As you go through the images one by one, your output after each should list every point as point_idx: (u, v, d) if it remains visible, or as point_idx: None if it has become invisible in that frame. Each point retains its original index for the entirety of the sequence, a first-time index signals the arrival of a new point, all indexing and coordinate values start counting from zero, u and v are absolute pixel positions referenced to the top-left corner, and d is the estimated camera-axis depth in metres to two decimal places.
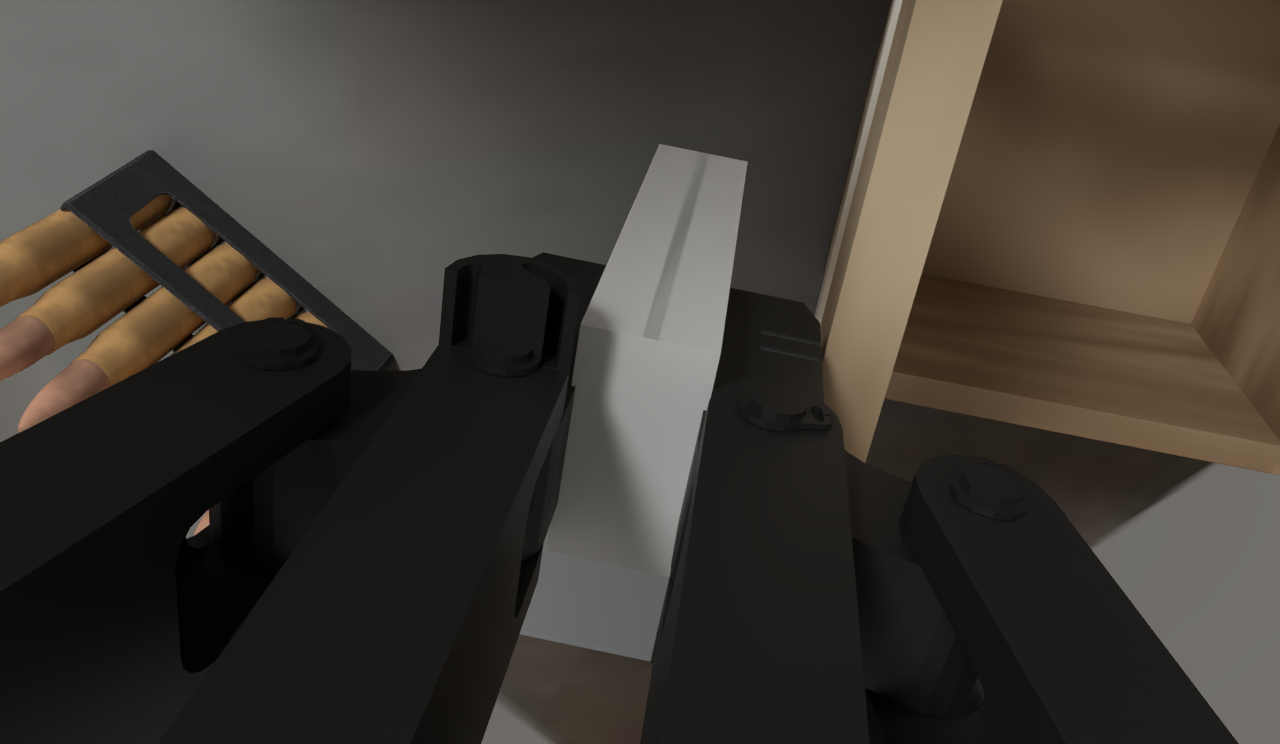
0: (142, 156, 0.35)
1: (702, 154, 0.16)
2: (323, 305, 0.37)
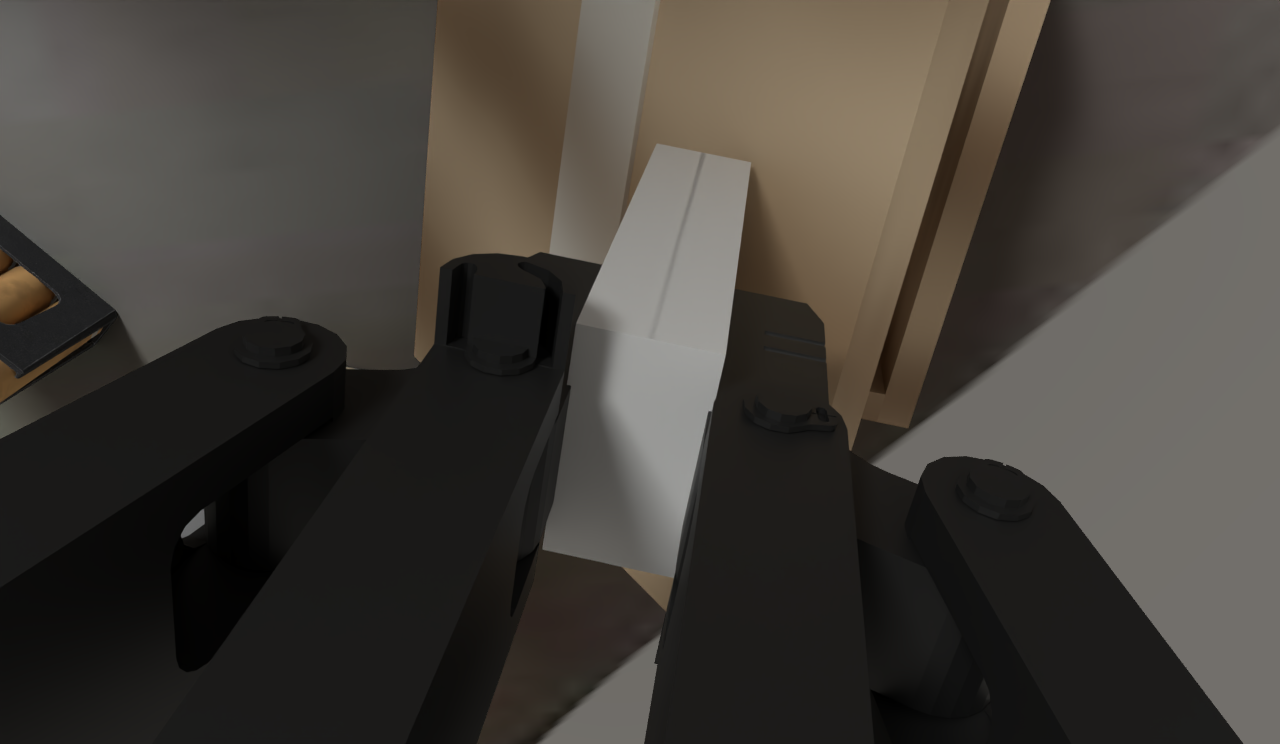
0: None
1: (699, 153, 0.16)
2: (39, 259, 0.37)
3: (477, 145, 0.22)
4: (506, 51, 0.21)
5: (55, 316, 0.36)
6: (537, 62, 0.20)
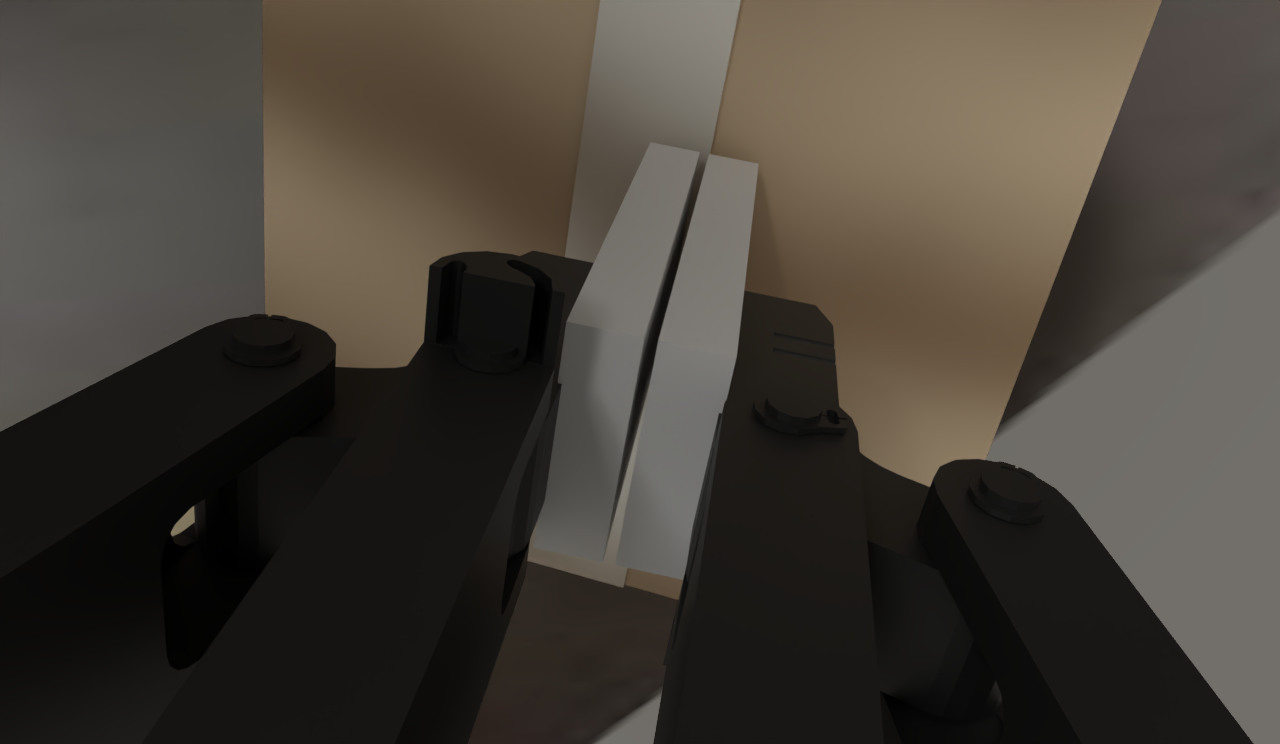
0: None
1: (693, 152, 0.16)
2: None
3: (382, 215, 0.18)
4: (434, 97, 0.17)
5: None
6: (503, 107, 0.16)
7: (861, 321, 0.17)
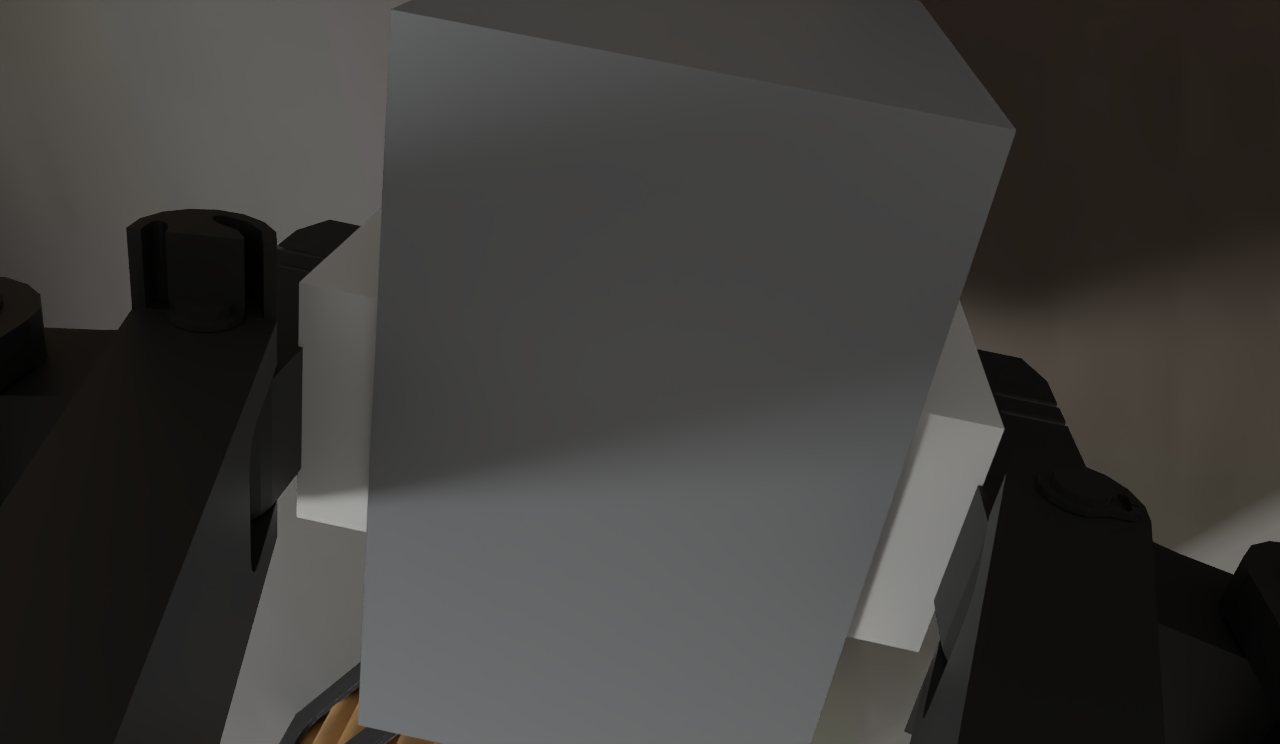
0: (286, 732, 0.28)
1: None
2: None
3: None
4: None
5: None
6: None
7: None
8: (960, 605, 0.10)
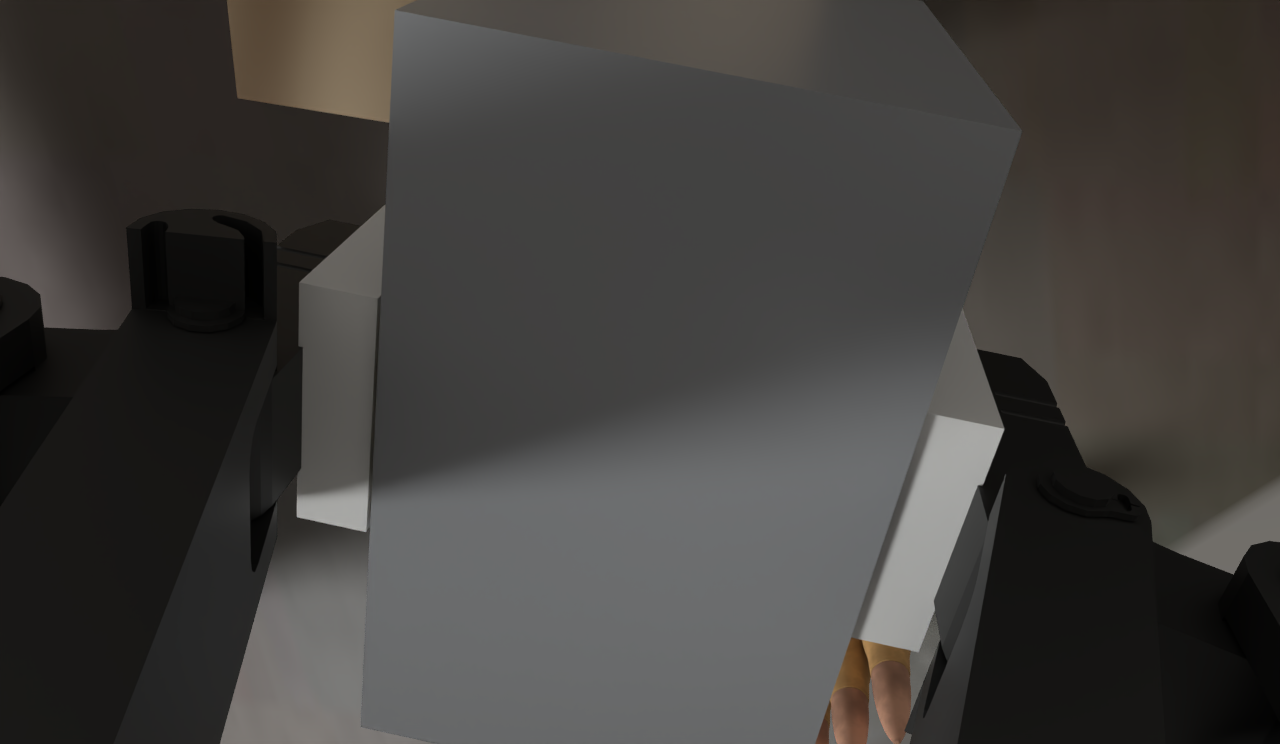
0: None
1: None
2: None
3: None
4: None
5: None
6: None
7: None
8: (960, 605, 0.10)
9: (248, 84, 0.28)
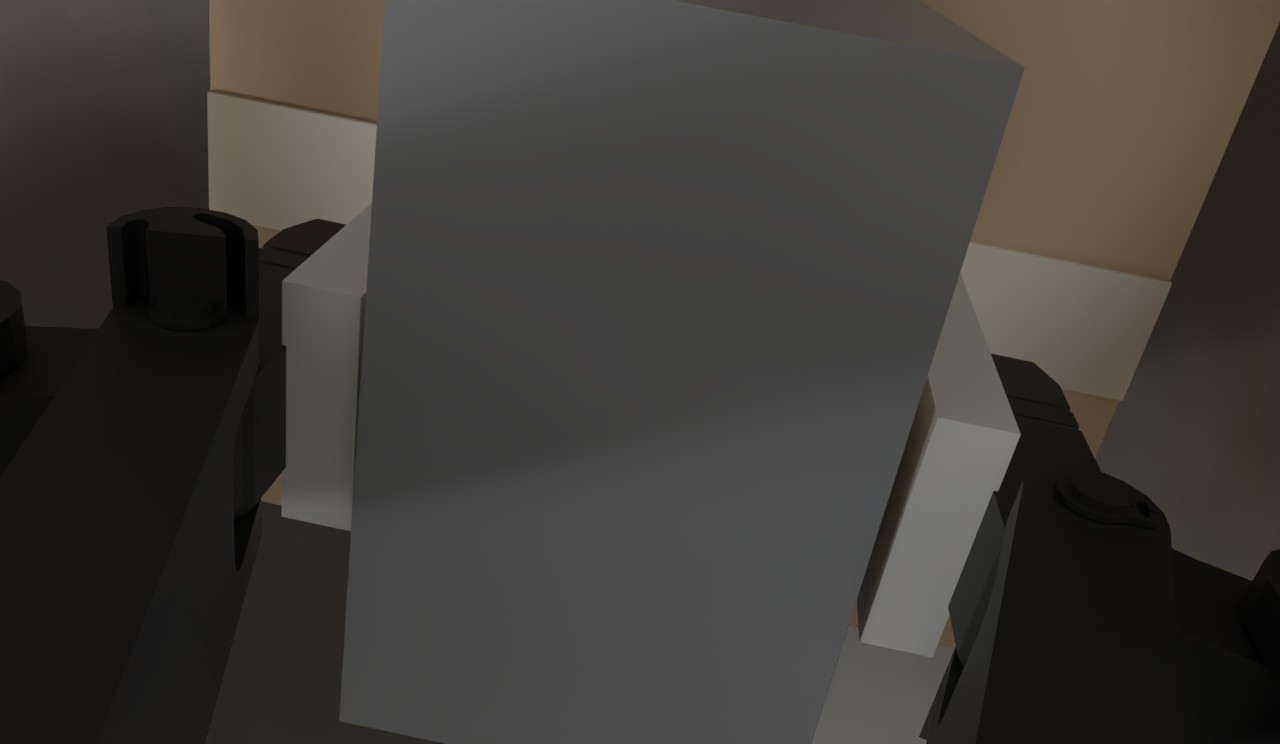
0: None
1: None
2: None
3: None
4: None
5: None
6: None
7: None
8: (976, 612, 0.09)
9: None
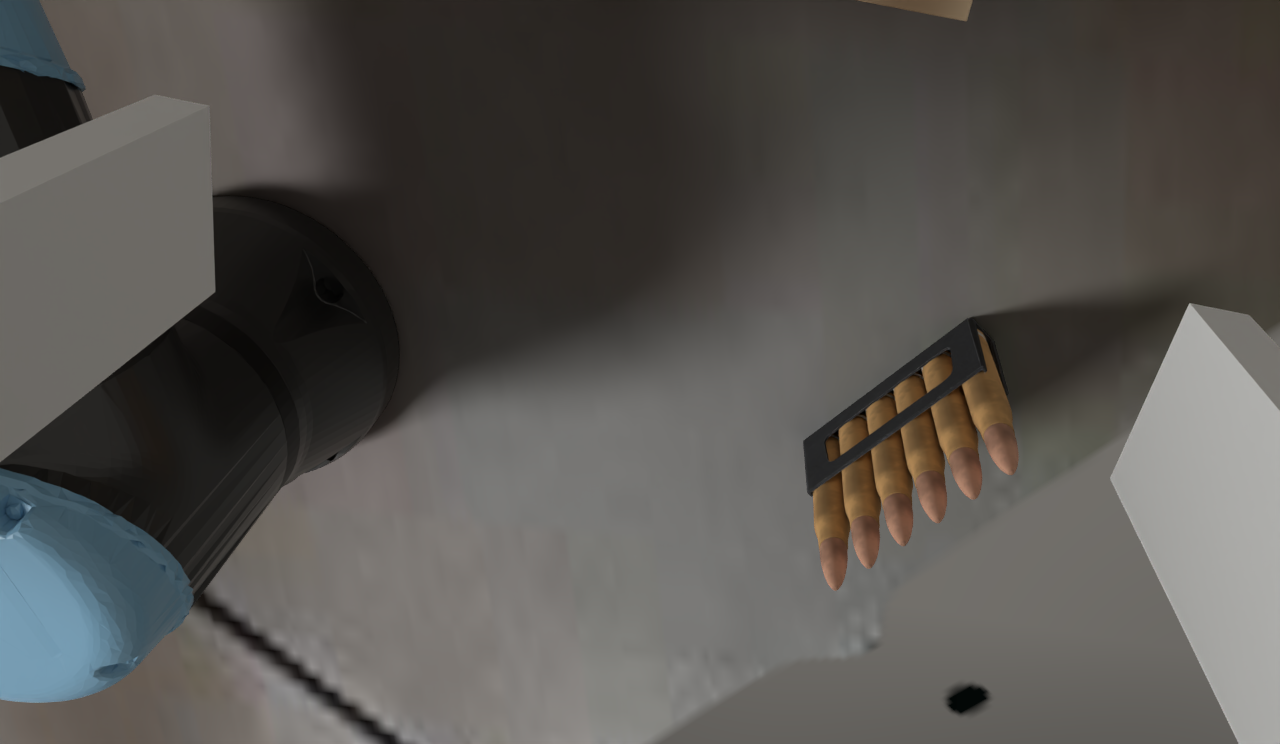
0: (804, 447, 0.54)
1: (199, 106, 0.14)
2: (920, 358, 0.51)
3: None
4: None
5: (957, 350, 0.49)
6: None
7: None
8: None
9: None
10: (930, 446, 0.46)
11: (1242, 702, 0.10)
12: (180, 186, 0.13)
